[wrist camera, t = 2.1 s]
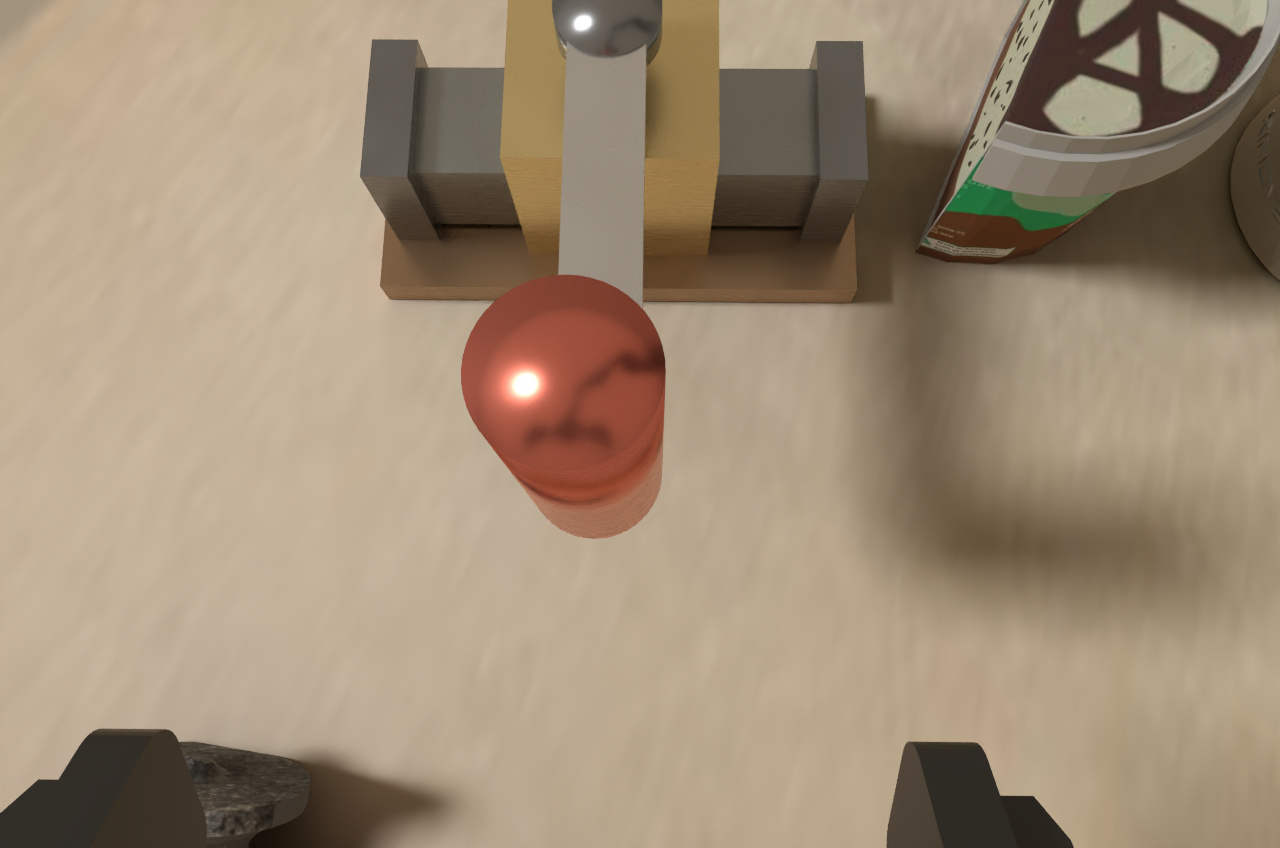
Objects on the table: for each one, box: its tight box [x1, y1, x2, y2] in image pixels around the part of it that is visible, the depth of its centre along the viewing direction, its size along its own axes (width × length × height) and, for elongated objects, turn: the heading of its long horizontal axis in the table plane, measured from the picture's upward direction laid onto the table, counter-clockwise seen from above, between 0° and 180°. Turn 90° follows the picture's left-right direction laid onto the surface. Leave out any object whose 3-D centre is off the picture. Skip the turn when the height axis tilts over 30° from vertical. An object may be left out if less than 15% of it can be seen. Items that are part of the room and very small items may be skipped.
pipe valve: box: [360, 0, 869, 303], centre depth 31 cm, size 16×8×9 cm, turn 89°
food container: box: [915, 0, 1280, 264], centre depth 30 cm, size 12×6×10 cm, turn 156°
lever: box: [461, 0, 666, 539], centre depth 20 cm, size 15×3×9 cm, turn 179°
